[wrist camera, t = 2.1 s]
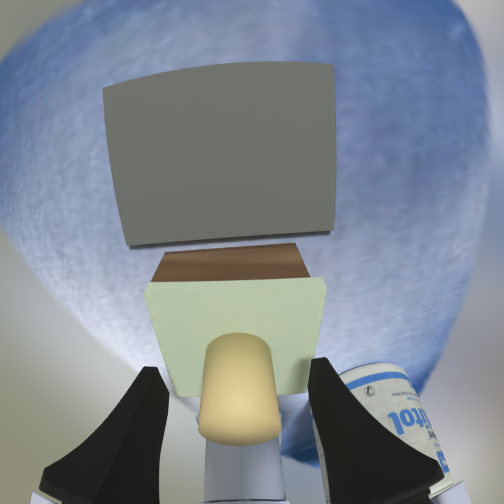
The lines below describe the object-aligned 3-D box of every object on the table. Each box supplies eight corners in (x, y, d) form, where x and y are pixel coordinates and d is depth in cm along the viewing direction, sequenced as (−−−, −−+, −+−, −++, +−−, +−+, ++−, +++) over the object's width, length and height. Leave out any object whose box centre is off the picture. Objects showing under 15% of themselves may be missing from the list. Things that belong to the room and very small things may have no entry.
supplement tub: (420, 359, 20) (481, 483, 7) (366, 415, 24) (400, 523, 11) (339, 353, 19) (397, 535, 5) (289, 415, 23) (309, 551, 9)
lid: (301, 371, 15) (319, 453, 10) (180, 375, 15) (168, 457, 10) (316, 267, 12) (362, 363, 7) (153, 272, 12) (110, 369, 6)
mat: (331, 227, 14) (333, 230, 14) (129, 242, 14) (126, 246, 14) (330, 66, 10) (332, 64, 10) (106, 88, 10) (102, 88, 10)
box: (291, 335, 18) (301, 381, 14) (189, 341, 18) (181, 387, 14) (294, 240, 15) (311, 280, 11) (166, 250, 15) (146, 290, 11)
